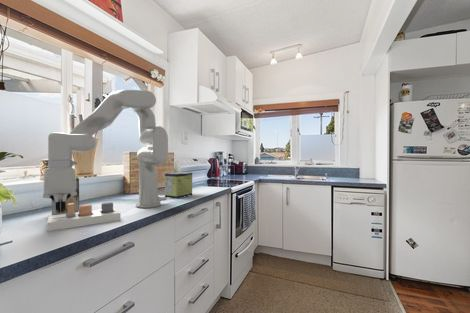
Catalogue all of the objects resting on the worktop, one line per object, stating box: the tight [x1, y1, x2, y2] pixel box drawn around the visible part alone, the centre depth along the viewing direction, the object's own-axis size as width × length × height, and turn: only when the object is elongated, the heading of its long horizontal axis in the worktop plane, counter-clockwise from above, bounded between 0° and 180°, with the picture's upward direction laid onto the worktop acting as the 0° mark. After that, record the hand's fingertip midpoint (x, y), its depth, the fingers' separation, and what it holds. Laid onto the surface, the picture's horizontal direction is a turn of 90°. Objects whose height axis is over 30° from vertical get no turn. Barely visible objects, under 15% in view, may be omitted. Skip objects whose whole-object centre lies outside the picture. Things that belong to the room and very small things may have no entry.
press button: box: [78, 204, 93, 217], centre depth 96 cm, size 4×4×4 cm
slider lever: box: [66, 203, 76, 217], centre depth 93 cm, size 3×4×5 cm
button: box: [101, 202, 114, 213], centre depth 100 cm, size 4×4×4 cm
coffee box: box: [51, 177, 80, 216], centre depth 110 cm, size 9×6×16 cm
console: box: [47, 207, 121, 232], centre depth 96 cm, size 24×12×3 cm, turn 127°
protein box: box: [164, 171, 193, 199], centre depth 154 cm, size 10×16×16 cm
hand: (60, 211), depth 91 cm, fingers closed
